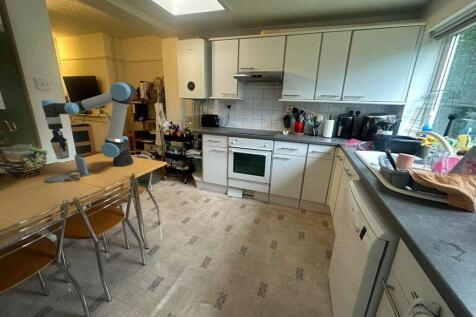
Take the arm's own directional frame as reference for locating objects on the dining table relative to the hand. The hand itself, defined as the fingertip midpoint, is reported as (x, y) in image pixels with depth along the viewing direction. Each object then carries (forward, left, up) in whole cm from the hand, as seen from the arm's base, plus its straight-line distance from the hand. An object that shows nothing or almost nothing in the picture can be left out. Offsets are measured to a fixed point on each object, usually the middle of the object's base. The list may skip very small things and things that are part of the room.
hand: (63, 154), depth 144 cm
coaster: (-4, +17, -12) cm, 21 cm away
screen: (-14, +7, -12) cm, 20 cm away
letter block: (-16, +19, -12) cm, 28 cm away
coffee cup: (0, 0, -3) cm, 3 cm away
